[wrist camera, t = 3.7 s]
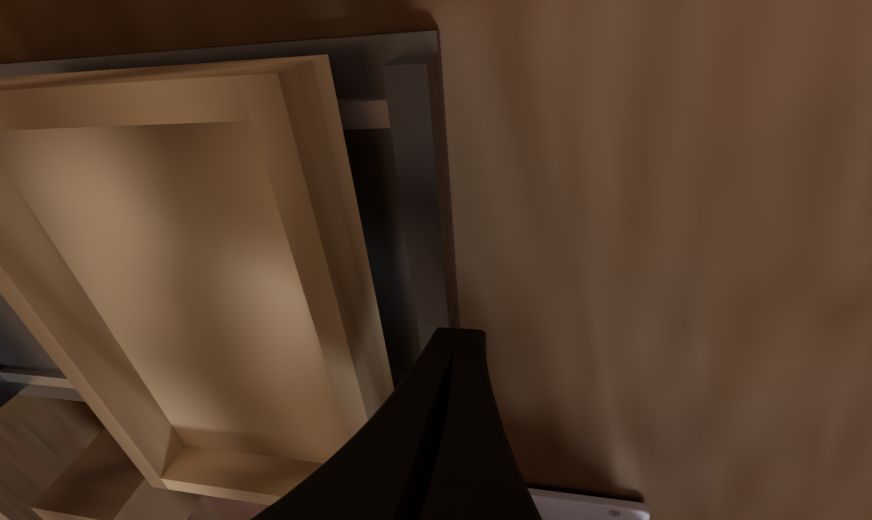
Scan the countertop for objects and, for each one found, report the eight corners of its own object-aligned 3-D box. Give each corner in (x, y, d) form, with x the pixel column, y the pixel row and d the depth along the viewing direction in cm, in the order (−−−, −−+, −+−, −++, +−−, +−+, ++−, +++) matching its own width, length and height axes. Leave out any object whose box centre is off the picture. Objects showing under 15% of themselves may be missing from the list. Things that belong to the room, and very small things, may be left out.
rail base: (439, 28, 10) (424, 36, 9) (467, 437, 19) (461, 475, 17) (-249, 82, 15) (-333, 93, 14) (21, 388, 24) (-13, 415, 22)
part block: (186, 424, 23) (111, 521, 19) (216, 472, 25) (155, 568, 21) (116, 416, 24) (30, 507, 20) (151, 463, 26) (81, 553, 22)
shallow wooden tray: (340, 49, 10) (277, 73, 8) (413, 449, 18) (394, 524, 16) (-10, 75, 12) (-152, 99, 10) (198, 424, 20) (152, 486, 18)
